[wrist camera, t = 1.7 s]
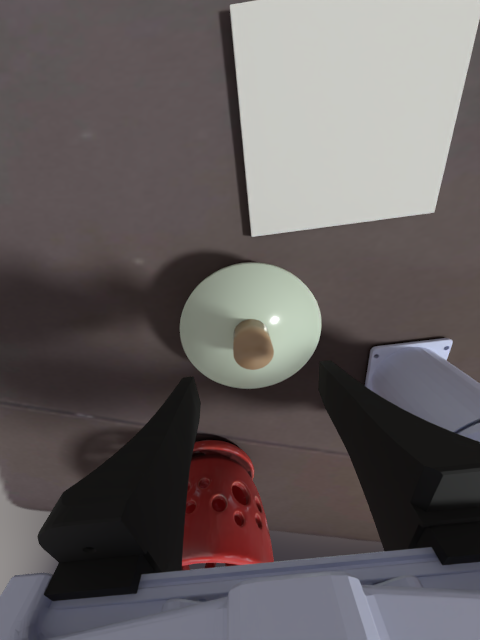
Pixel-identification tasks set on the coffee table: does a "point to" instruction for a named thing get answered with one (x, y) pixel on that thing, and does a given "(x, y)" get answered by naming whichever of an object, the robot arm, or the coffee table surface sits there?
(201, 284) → the lid
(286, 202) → the mat
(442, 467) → the robot arm
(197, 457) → the plant pot
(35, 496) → the coffee table surface
